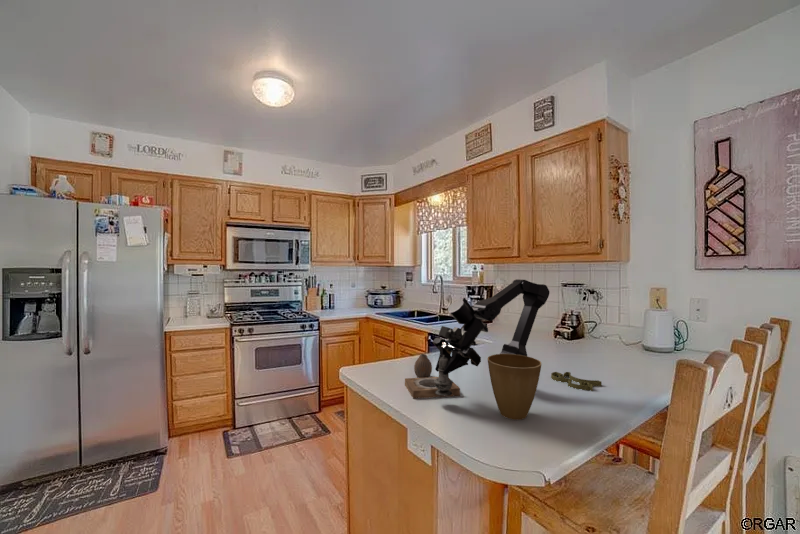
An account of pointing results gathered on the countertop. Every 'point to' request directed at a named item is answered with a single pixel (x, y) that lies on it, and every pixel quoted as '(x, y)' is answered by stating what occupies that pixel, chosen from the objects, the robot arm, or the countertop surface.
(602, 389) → the countertop surface
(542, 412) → the countertop surface
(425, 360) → the vase
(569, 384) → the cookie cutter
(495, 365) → the plant pot
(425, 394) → the bore block
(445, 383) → the grey chess piece
